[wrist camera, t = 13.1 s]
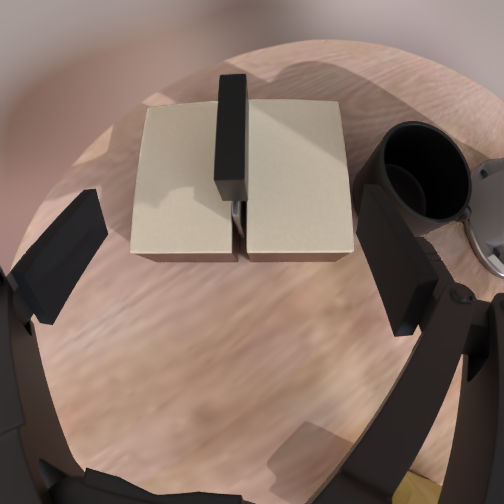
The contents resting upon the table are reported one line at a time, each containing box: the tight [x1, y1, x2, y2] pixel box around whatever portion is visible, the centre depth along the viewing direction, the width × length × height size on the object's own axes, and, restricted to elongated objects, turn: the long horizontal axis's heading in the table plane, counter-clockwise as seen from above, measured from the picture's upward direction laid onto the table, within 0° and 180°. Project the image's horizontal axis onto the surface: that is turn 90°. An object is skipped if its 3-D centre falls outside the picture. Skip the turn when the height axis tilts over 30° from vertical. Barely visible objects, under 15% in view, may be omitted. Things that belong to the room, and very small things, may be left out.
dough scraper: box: [213, 74, 249, 238], centre depth 24 cm, size 2×10×12 cm, turn 0°
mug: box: [353, 121, 472, 237], centre depth 27 cm, size 9×12×9 cm
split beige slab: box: [130, 99, 354, 262], centre depth 28 cm, size 18×14×7 cm
